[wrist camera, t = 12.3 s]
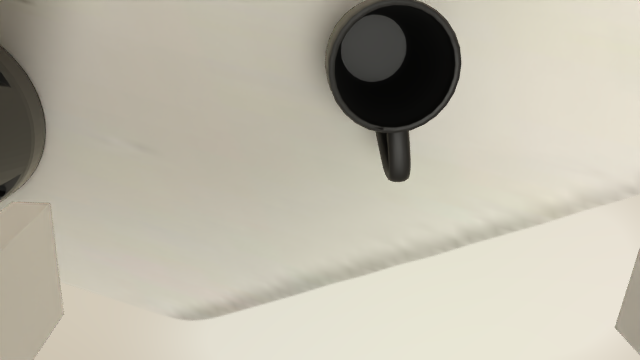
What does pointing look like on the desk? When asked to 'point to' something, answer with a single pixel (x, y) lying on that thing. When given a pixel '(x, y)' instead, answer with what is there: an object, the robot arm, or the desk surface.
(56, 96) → the desk surface
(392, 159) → the mug
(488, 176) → the desk surface
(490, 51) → the desk surface
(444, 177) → the desk surface
